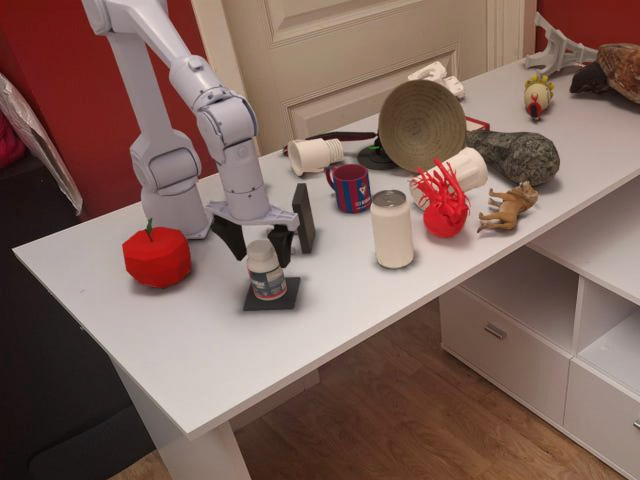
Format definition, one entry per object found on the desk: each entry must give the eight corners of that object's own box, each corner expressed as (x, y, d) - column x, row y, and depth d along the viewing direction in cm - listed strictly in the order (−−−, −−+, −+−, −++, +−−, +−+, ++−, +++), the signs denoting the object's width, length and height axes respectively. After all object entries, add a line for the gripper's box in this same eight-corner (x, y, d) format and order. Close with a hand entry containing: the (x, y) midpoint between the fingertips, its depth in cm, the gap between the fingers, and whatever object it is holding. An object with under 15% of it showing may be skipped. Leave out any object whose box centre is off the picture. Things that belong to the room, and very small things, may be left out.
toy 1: (288, 169, 151) (284, 148, 151) (380, 138, 146) (375, 116, 147) (282, 165, 148) (278, 144, 149) (376, 133, 144) (371, 111, 145)
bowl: (370, 83, 144) (377, 74, 137) (455, 89, 150) (467, 81, 142) (372, 175, 147) (379, 171, 140) (456, 178, 153) (467, 174, 145)
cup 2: (420, 174, 126) (480, 145, 133) (399, 175, 133) (456, 147, 139) (436, 216, 130) (493, 185, 136) (414, 215, 136) (470, 186, 142)
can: (385, 273, 119) (377, 212, 110) (371, 254, 123) (363, 193, 115) (419, 263, 121) (415, 202, 113) (405, 244, 125) (399, 184, 117)
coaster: (243, 310, 112) (242, 308, 111) (252, 280, 118) (252, 278, 117) (293, 309, 112) (293, 306, 112) (300, 279, 118) (300, 276, 117)
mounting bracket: (457, 70, 164) (417, 91, 165) (467, 95, 168) (428, 115, 169) (445, 56, 173) (406, 76, 174) (455, 80, 177) (417, 99, 178)
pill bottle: (248, 292, 114) (234, 247, 108) (274, 278, 117) (262, 233, 111) (267, 305, 112) (255, 260, 106) (293, 290, 115) (283, 245, 109)
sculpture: (583, 133, 175) (666, 129, 157) (561, 68, 166) (646, 55, 148) (622, 101, 182) (705, 94, 163) (602, 36, 173) (689, 21, 154)
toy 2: (548, 95, 155) (555, 67, 165) (516, 96, 156) (525, 68, 167) (549, 126, 160) (556, 97, 170) (518, 126, 161) (527, 97, 172)
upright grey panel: (260, 255, 123) (247, 205, 116) (267, 233, 128) (255, 184, 121) (310, 253, 123) (300, 203, 116) (315, 231, 128) (306, 182, 121)
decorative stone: (484, 151, 151) (456, 173, 146) (480, 108, 144) (450, 130, 139) (570, 178, 141) (542, 203, 136) (570, 133, 134) (540, 158, 129)
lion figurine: (496, 168, 131) (542, 180, 131) (493, 190, 136) (538, 201, 135) (474, 221, 123) (524, 234, 123) (472, 242, 128) (520, 255, 127)
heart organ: (428, 251, 121) (440, 186, 114) (400, 219, 129) (410, 157, 122) (477, 248, 126) (491, 185, 119) (447, 218, 134) (459, 158, 127)
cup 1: (352, 217, 132) (347, 184, 127) (319, 198, 137) (313, 166, 132) (379, 203, 135) (375, 171, 131) (346, 186, 140) (341, 154, 136)
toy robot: (376, 175, 143) (369, 118, 135) (346, 153, 150) (338, 99, 142) (424, 157, 148) (420, 102, 140) (393, 137, 155) (388, 84, 147)
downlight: (299, 185, 144) (343, 175, 148) (303, 163, 138) (349, 154, 142) (283, 154, 145) (327, 145, 150) (287, 131, 139) (333, 123, 144)
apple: (191, 293, 115) (172, 242, 108) (125, 297, 114) (102, 246, 107) (204, 256, 123) (187, 207, 116) (142, 260, 122) (121, 210, 115)
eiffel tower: (524, 64, 187) (625, 78, 195) (537, 83, 177) (643, 97, 185) (536, 11, 178) (641, 28, 186) (550, 28, 168) (661, 45, 177)
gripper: (301, 176, 102) (316, 253, 112) (213, 164, 105) (235, 240, 114) (279, 200, 97) (297, 279, 107) (187, 187, 100) (212, 265, 109)
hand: (263, 261), depth 110 cm, fingers open, 7 cm apart
